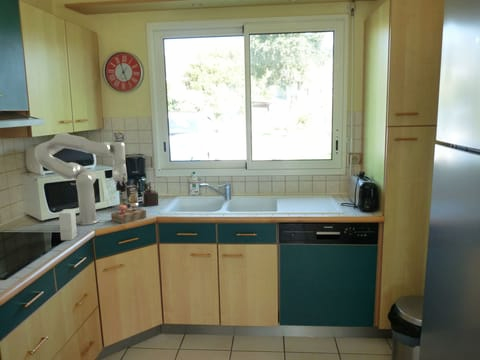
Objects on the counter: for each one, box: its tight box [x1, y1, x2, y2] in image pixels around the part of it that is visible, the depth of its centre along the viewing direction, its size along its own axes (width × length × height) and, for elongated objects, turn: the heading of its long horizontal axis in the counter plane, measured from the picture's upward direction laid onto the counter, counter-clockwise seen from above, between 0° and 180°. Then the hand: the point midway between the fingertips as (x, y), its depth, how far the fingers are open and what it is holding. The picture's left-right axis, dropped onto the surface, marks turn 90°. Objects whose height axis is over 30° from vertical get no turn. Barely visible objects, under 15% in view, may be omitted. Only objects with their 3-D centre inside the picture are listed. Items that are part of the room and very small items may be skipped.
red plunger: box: [117, 204, 126, 214], centre depth 254 cm, size 5×5×5 cm
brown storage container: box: [141, 182, 159, 207], centre depth 293 cm, size 16×11×18 cm
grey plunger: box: [131, 202, 139, 211], centre depth 260 cm, size 5×5×5 cm
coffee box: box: [121, 184, 139, 210], centre depth 286 cm, size 9×6×16 cm
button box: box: [110, 207, 147, 225], centre depth 258 cm, size 18×12×5 cm, turn 137°
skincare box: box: [58, 208, 78, 241], centre depth 220 cm, size 8×7×16 cm
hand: (121, 190), depth 251 cm, fingers open, 4 cm apart
